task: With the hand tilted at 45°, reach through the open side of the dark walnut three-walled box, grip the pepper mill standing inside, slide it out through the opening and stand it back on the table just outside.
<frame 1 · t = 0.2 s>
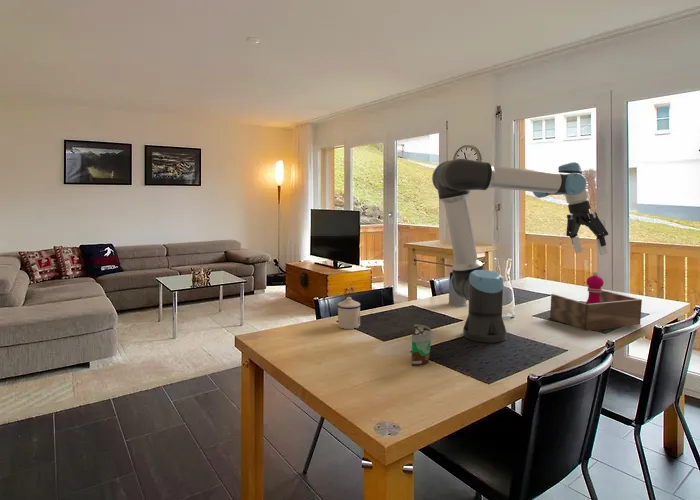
hand: (590, 253, 175), 28 cm above the table, tool tilted 15°, fingers open, 13 cm apart
grey cylinder: (463, 305, 208), on the table
open-sided box: (592, 320, 179), on the table
teacup with lid: (348, 325, 176), on the table
food container: (422, 361, 137), on the table
pepper mill: (592, 321, 179), on the table
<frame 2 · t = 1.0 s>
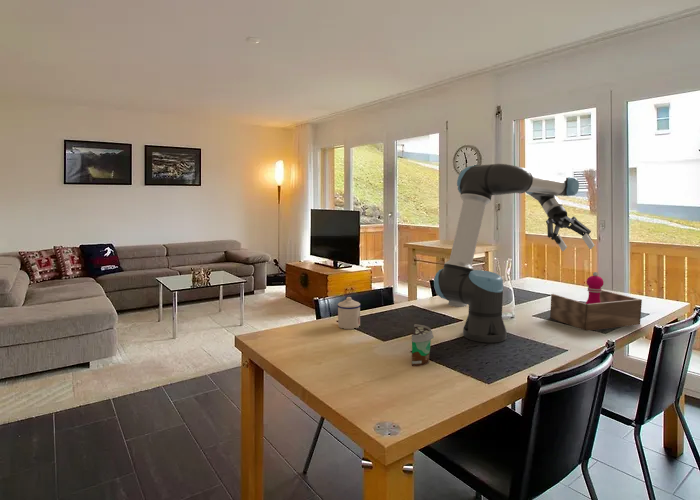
hand: (578, 248, 184), 29 cm above the table, tool tilted 45°, fingers open, 13 cm apart
nothing on the table moved.
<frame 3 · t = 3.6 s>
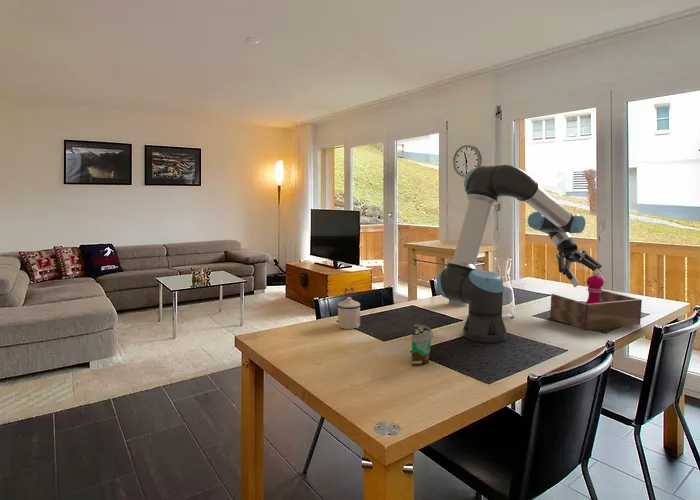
hand: (590, 284, 181), 14 cm above the table, tool tilted 45°, fingers open, 13 cm apart
nothing on the table moved.
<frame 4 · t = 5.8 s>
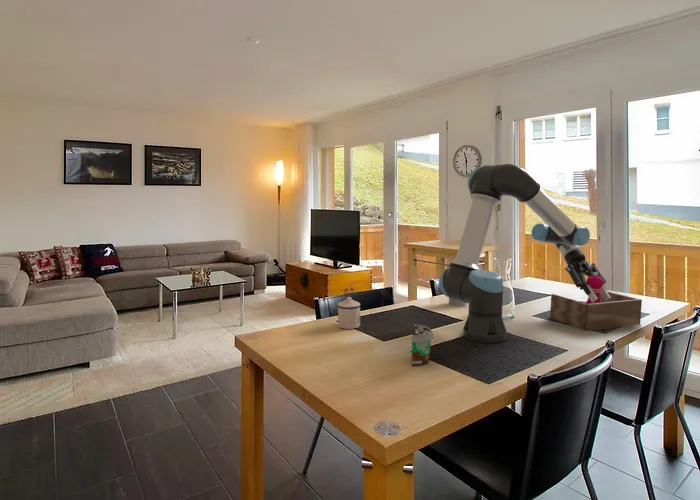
hand: (601, 300, 175), 9 cm above the table, tool tilted 45°, fingers closed on pepper mill, 6 cm apart
pepper mill: (592, 321, 179), on the table, touching gripper
everything else where it was.
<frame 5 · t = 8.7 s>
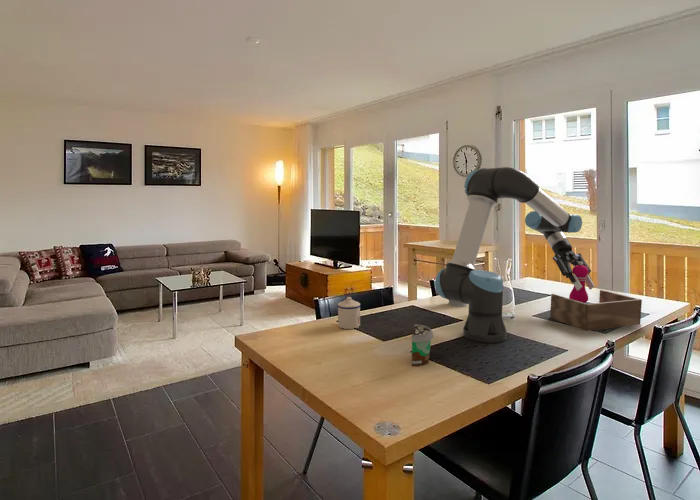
hand: (586, 288, 183), 12 cm above the table, tool tilted 45°, fingers closed on pepper mill, 6 cm apart
pepper mill: (578, 308, 188), point 3 cm above the table, touching gripper
everything else where it was.
when the fingers open (10 cm above the table, at t = 11.9 s): pepper mill stays where it is, on the table.
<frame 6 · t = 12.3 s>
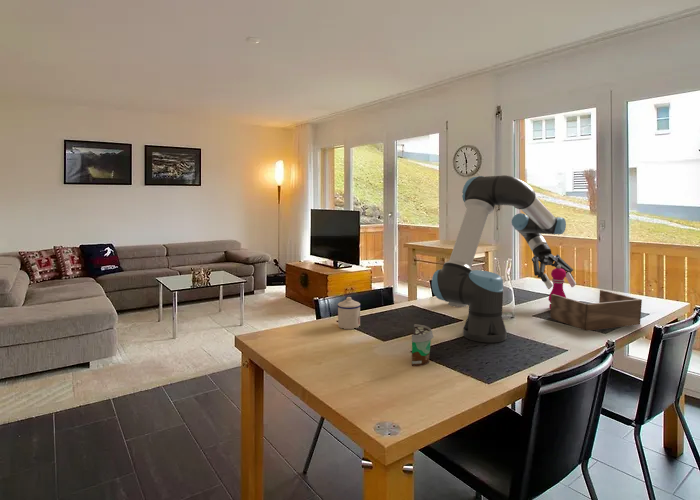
hand: (562, 286, 194), 11 cm above the table, tool tilted 45°, fingers open, 12 cm apart
pepper mill: (556, 309, 198), on the table
everything else where it was.
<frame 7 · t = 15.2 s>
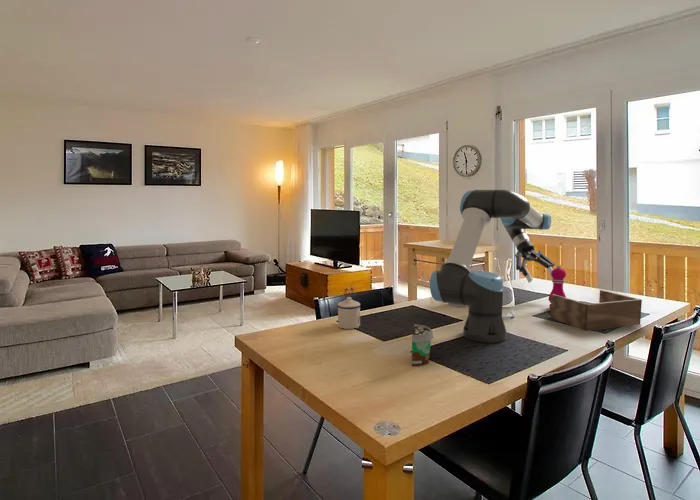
hand: (543, 280, 206), 11 cm above the table, tool tilted 45°, fingers open, 13 cm apart
nothing on the table moved.
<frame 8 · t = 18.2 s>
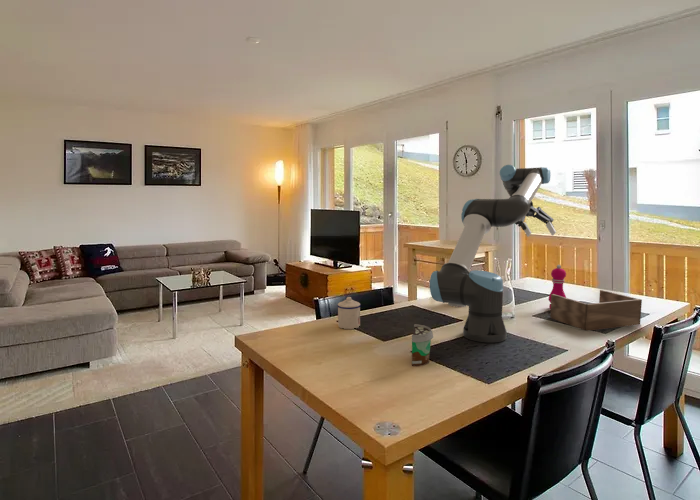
hand: (542, 234, 205), 33 cm above the table, tool tilted 45°, fingers open, 13 cm apart
nothing on the table moved.
at the end: pepper mill inside the target area (0.3 cm from its centre), on the table; pepper mill tilted 0°; the gripper is holding nothing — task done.
